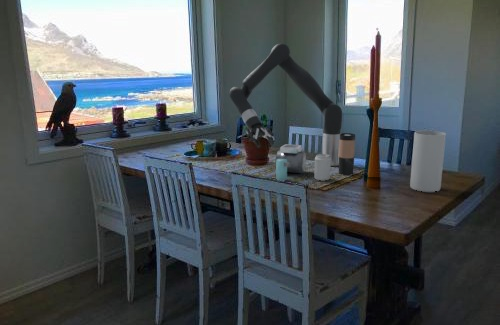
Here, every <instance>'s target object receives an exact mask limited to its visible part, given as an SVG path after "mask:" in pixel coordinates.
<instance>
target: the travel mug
mask: <svg viewBox="0 0 500 325" xmlns="http://www.w3.org/2000/svg"><path fill="white" fill-rule="evenodd" d="M355 149H356V134H355V133H351V132H349V133H348V132H344V133H340V143H339V165H338V174H339V175H342V174H343V176H351V175H350V174H352V175H353V174H354V167H355V166H354V165H355V164H354V163H355V153H356V152H355Z"/></svg>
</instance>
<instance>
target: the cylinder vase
mask: <svg viewBox="0 0 500 325" xmlns="http://www.w3.org/2000/svg"><path fill="white" fill-rule="evenodd" d="M446 137H447V133H446V132H443V131H436V130H416V131H414V133H413V145H412V147H413V148H412V157H411V167H410V168H411V170H410V180H409V181H410V182H409V184H410V185H409V187H410V189H412V190H414V191H416V190H417V192H421V191H422V192H421V193H436V192H435V191H437V192H439V191H440V190H441V188H442V187H441V186H442V178H443V177H442V175H443V167H444V160H445V158H444V157H445V149H446V140H447V139H446Z"/></svg>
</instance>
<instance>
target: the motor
mask: <svg viewBox="0 0 500 325" xmlns="http://www.w3.org/2000/svg"><path fill="white" fill-rule="evenodd" d="M302 147H303V145H300V144H290V143H289V144H284V145H282V146H280V148H279V150H278V151H277V152H276V156H275V163H274V164H275V165H274V166H275V167H276V159H287V162H289V163H291V166H290V167H287V173H292V174H293V173H294V174H304V173H305V170H306V165H307V164H306V163H307V156H306V152H305V151H302V150H303V148H302Z"/></svg>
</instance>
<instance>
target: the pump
mask: <svg viewBox="0 0 500 325" xmlns="http://www.w3.org/2000/svg"><path fill="white" fill-rule="evenodd" d="M275 161H276V166H275V180H276V179H277V180H281V181H283V180H287V181H288V172H287V167H290V166H291V163H289V162H287V159H276V158H275ZM283 182H284V181H283Z"/></svg>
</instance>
